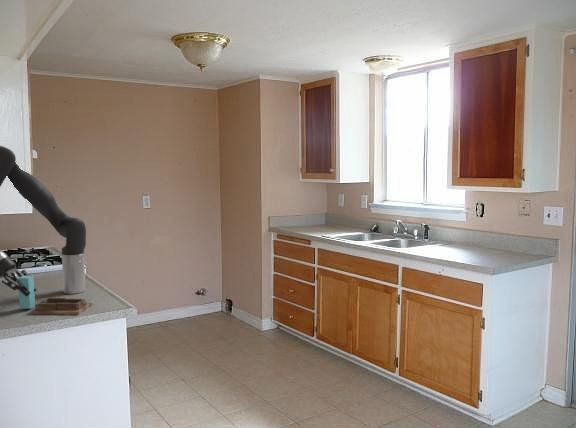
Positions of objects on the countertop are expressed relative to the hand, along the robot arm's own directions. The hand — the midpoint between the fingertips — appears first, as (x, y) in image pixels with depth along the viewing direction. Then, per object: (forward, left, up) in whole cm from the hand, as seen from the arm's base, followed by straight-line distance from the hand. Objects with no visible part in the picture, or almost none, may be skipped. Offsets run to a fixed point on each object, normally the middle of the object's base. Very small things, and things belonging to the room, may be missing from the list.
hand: (31, 292), depth 204 cm
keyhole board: (0, +12, -7) cm, 14 cm away
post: (0, -2, -6) cm, 6 cm away
